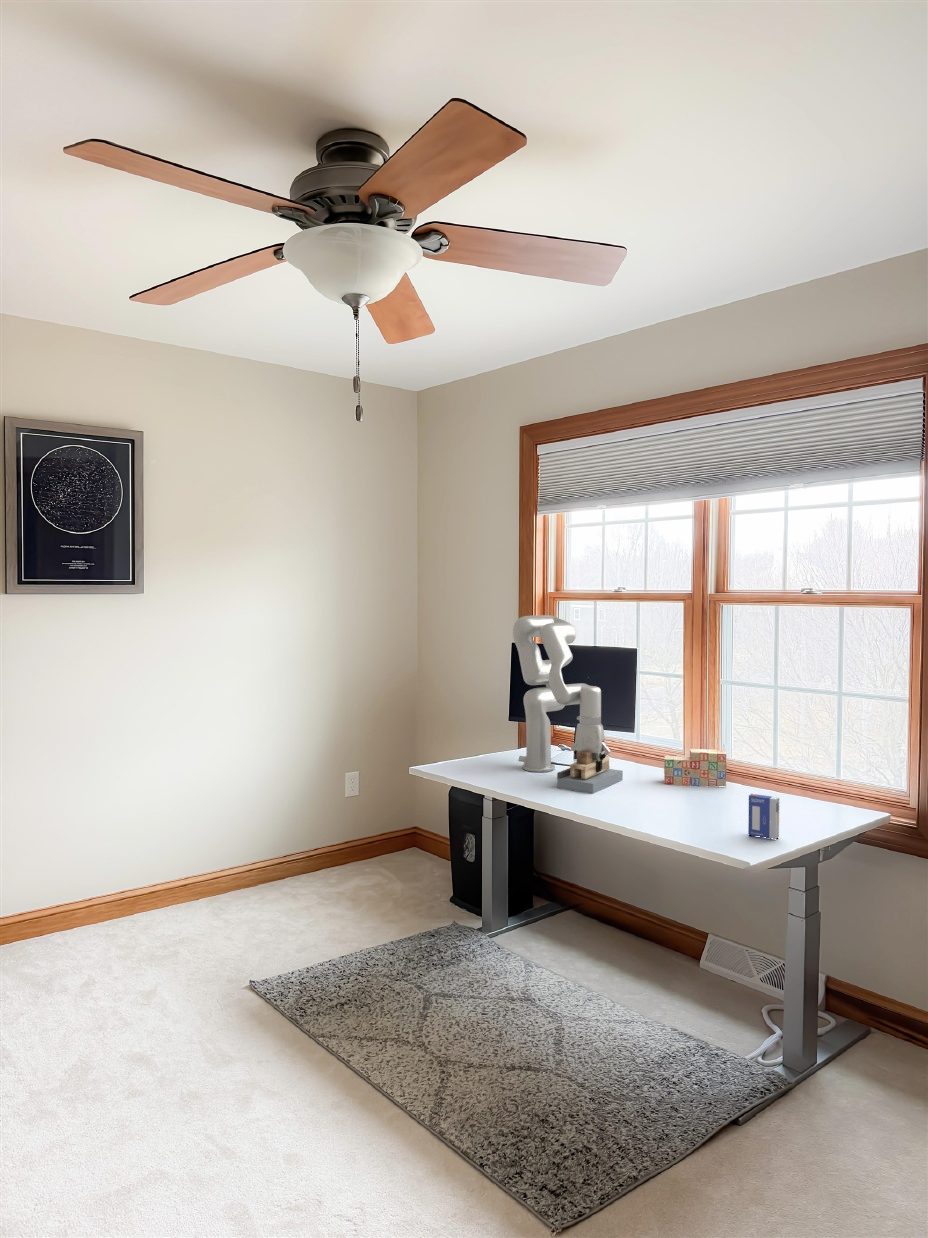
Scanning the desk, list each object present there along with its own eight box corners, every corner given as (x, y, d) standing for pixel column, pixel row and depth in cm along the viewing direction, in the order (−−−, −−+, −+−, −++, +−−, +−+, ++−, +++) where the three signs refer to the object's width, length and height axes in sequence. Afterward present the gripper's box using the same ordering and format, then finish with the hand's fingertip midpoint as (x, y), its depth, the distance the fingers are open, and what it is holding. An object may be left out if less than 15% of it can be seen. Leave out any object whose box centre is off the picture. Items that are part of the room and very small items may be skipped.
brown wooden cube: (576, 763, 295) (576, 752, 295) (581, 761, 299) (581, 750, 298) (586, 764, 293) (586, 753, 293) (591, 762, 296) (592, 751, 296)
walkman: (748, 836, 237) (748, 794, 237) (751, 833, 240) (751, 792, 239) (776, 840, 233) (777, 798, 232) (779, 838, 235) (779, 796, 235)
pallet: (570, 776, 294) (570, 764, 294) (594, 766, 309) (594, 755, 309) (585, 779, 290) (585, 766, 290) (609, 769, 306) (609, 757, 306)
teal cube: (588, 758, 303) (588, 747, 303) (593, 756, 306) (593, 746, 306) (598, 760, 300) (598, 749, 300) (603, 758, 304) (603, 747, 304)
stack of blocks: (664, 784, 299) (664, 750, 298) (664, 780, 305) (664, 747, 304) (726, 788, 294) (726, 753, 293) (725, 783, 300) (725, 750, 299)
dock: (557, 788, 294) (557, 772, 294) (588, 775, 314) (588, 760, 313) (593, 793, 286) (593, 778, 286) (622, 780, 306) (622, 765, 305)
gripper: (564, 719, 301) (564, 769, 302) (607, 724, 291) (607, 775, 292) (573, 717, 307) (573, 765, 308) (616, 721, 297) (616, 771, 298)
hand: (590, 769), depth 300 cm, fingers closed on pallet, 6 cm apart
